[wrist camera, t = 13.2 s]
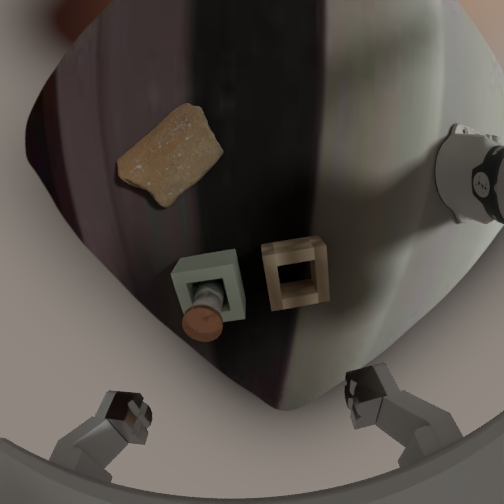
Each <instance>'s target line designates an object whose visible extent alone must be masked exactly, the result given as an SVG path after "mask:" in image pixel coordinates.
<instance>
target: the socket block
mask: <svg viewBox="0 0 504 504" xmlns="http://www.w3.org/2000/svg"><path fill="white" fill-rule="evenodd" d="M171 277H172V281H173V284H174V287H175V290H176V293H177V296H178V299H179V302H180V305H181V308H182V311H183V314H185V312H186V310H187V309H188V308H190V307H191V306H192V303H193V300H194V298H195V295H196V292H197V289H198V286H199V284H198V282H199V281H206V280H212V279H219V278H223V281H224V286H225V290H226V292H224V298H223V303H222V309H221V316H222V319H223V322H227V321H234V320H241V319H245V310H246V297H245V293H244V288H243V283H242V279H241V274H240V269H239V264H238V260H237V255H236V250H235V249H231V250H225V251H219V252H213V253H207V254H201V255H195V256H189V257H184V258H180V259H179V261H178V262H177V264H176V266H175V267H174V269H173V271H172V272H171Z"/></svg>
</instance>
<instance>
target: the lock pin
mask: <svg viewBox="0 0 504 504" xmlns="http://www.w3.org/2000/svg"><path fill="white" fill-rule="evenodd" d="M224 292H225V286H224V281H223V278H219V279H212V280H206V281H200V284H199V286H198V289H197V292H196V295H195V298H194V300H193V303H192V306H191V307H190V308H188V309H187V310H186V312H185V314H184V317H183V319H182V327H183V330H184V331H185V333H186V334H187V335H188V336H189V337H191V338H192V339H194V340H197V341H201V342H209V341H213V340H215V339H216V338H218V337H219V336H220V334H221V332H222V328H223V319H222V316H221V309H222V303H223V298H224Z"/></svg>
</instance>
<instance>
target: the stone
mask: <svg viewBox="0 0 504 504" xmlns="http://www.w3.org/2000/svg"><path fill="white" fill-rule="evenodd" d="M222 154H223V150H222V148H221V147H220V144H219V143H218V142H217V140H216V138H215V135H214V133H213V132H212V131H211V130H210V127H209V126H208V121H207V119H206V117H205V116H204V113H203V111H202V108H201V107H199V106H192V105H190V104H189V103H185V104H182V105H181V106H179V107H178V108H176V109H175V110H174V111H172V112H171V113H170V114H169V115H168V116H167V117H166V118H164V119H163V120H162V121H161V122H160V123H159V124H158V125H157V126H156V127H155V128H154V129H153V130H152V131H151V132H150V133H149V134H148V135H147V136H145V137H143V138H142V139H141V140H140V141H139V142H138V143H137V144H135V145H134V146H133V147H132V148H131V149H130V150H128V151H127V152H126V153H125V154H124V155H122V156H121V157H120V158H119V159H118V161H117V165H118V176H119V177H120V178H121V179H122V180H123V181H125V182H126V183H128V184H129V185H131V186H134V187H140V188H142V189H143V190H147V191H148V192H149V193H150V194H151V196H152V197H153V198H154V199H155V200H156V201H157V202H158V204H159V205H160V206H162V207H165V208H167V207H169V206H171V205H172V204H173V203H174V202H175V200H176V199H177V197H178V196H179V195H180V194H182V193H183V192H184V191H185V190H187V189H188V188H189V187H191V186H192V185H194V184H195V183H196V182H198V181H199V180H200V179H201V178H202V177H203V176H204V175H205V174H206V172H207V171H208V170H209V169H210V168H211V167H212V166H213V165H214V164H215V163H216V162H217V160H218V159H219V158H220V157H221V156H222Z"/></svg>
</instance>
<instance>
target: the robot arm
mask: <svg viewBox="0 0 504 504" xmlns="http://www.w3.org/2000/svg"><path fill="white" fill-rule="evenodd" d="M435 176H436V184H437V188H438V191H439V194H440V196H441V198H442V200H443V201H444V203H445V204H446V205H447V206H448V207H449V208H450V209H451V210H452V211H453V212H454V214H455V216H456V218H457V220H458V222H460V223H466V222H468V221H470V220H475V221H478V222H481V223H484V224H488V223H489V222H491V221H493V220H496V221H497V222H500V223H502V224H504V146H502V145H501V144H500V137H498V136H494V135H487V134H486V135H485V134H483V133H481V132H478V131H476V130H474V129H472V128H469V127H467V126H464V125H462V124H457V123H456V124H454V126H453V128H452V131H451V135H450V136H449V138H448V139H447V140H446V141H445V142H444V143H443V145H442V146H441V148H440V150H439V153H438V156H437V160H436V168H435ZM345 379H346V382H347V384H346V385H345V390H344V393H345V400H346V404H347V407H348V408H349V409H350V410H351V416H350V417H351V420H352V423H353V426H354V428H355V429H359V428H362V427H366V426H370V425H373V424H376V426H378V427H379V428H380V429H381V430H383V431H384V432H386V433H387V434H388V435H389V436H391V437H392V438H393V439H395V440H396V441H398V442H399V443H400V444H402V445H403V446H404V447H406V448H405V450H404V452H403V454H402V455H401V457H400V458H399V460H398V463H399V466H400V468H398V469H395V470H392V471H390V472H387V473H384V474H381V475H378V476H375V477H372V478H368V479H365V480H362V481H358V482H354V483H351V484H347V485H343V486H338V487H334V488H330V489H325V490H319V491H314V492H308V493H302V494H295V495H287V496H277V497H265V498H246V499H217V498H215V499H214V498H198V497H197V498H196V497H186V496H176V495H169V494H162V493H155V492H150V491H144V490H139V489H134V488H130V487H125V486H121V485H117V484H114V483H111V480H112V476H111V474H110V473H108V472H107V471H106V470H105V469H104V468H105V467H106V466H107V465H108V464H109V463H110V462H111V461H112V460H113V459H114V458H115V457H116V456H117V455H118V454H119V453H120V452H121V451H122V450H123V449H124V448H125V447H126V445H128V443H133V444H143V445H145V442H146V439H147V436H148V431H147V429H146V428H148V427H149V426H150V425H151V422H152V412H151V409H150V407H149V406H148V405H147V404H146V403H144V402H143V399H144V398H143V397H142V395H141V394H140V393H132V392H120V391H108V392H107V393H106V395H105V397H104V399H103V401H102V403H101V405H100V407H99V409H98V411H97V413H96V415H95V417H91V418H89V419H88V420H87V421H85V422H84V423H83V424H81V425H80V426H78V427H77V428H76V429H74V430H73V431H71V432H70V433H68V434H67V435H66V436H64V437H63V438H61V439H60V440H58V442H57V444H56V446H55V448H54V450H53V453H52V455H51V457H50V459H49V461H48V460H46V459H44V458H42V457H39V456H37V455H35V454H33V453H31V452H29V451H27V450H25V449H23V448H22V447H20V446H17V445H16V444H14V443H13V442H11V441H9V440H7V439H5V438H0V504H504V411H503V412H501V413H500V414H499V415H497V416H496V417H494V418H493V419H492V420H490V421H489V422H487V423H486V424H484V425H483V426H481V427H479V428H478V429H476V430H475V431H473V432H472V433H470V434H468V435H467V436H465V437H463V436H462V434H461V432H460V430H459V428H458V426H457V425H456V423H455V421H454V419H453V418H452V416H451V414H450V413H449V412H447V411H444V410H442V409H440V408H438V407H436V406H434V405H432V404H430V403H428V402H426V401H424V400H422V399H420V398H418V397H416V396H414V395H412V394H410V393H408V392H406V391H405V390H403V391H400V390H399V388H398V386H397V384H396V382H395V380H394V378H393V376H392V375H391V373H390V371H389V369H388V367H387V365H386V364H385V363H384V362H382V363H379V364H375V365H372V366H368V367H364V368H361V369H357V370H353V371H349V372H346V376H345Z"/></svg>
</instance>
